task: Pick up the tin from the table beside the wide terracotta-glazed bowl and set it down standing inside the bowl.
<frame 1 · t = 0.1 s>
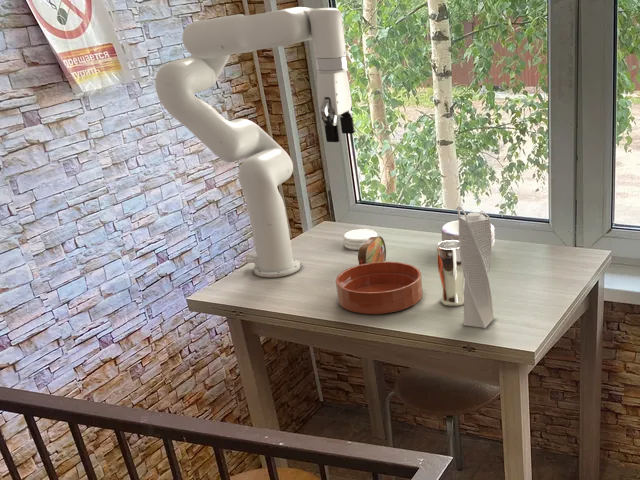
hand: (340, 137, 198), 37 cm above the table, tool pointing down, fingers open, 9 cm apart
tin: (373, 270, 219), on the table
bowl: (381, 298, 202), on the table
coaster: (361, 245, 238), on the table
skyscraper: (478, 323, 188), on the table
paper bowls: (469, 253, 230), on the table
chrome tumbler: (453, 302, 199), on the table
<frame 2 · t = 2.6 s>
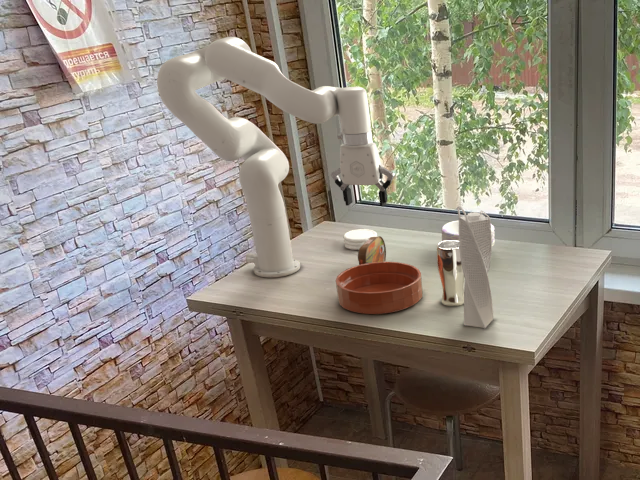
hand: (366, 204, 210), 19 cm above the table, tool pointing down, fingers open, 9 cm apart
nothing on the table moved.
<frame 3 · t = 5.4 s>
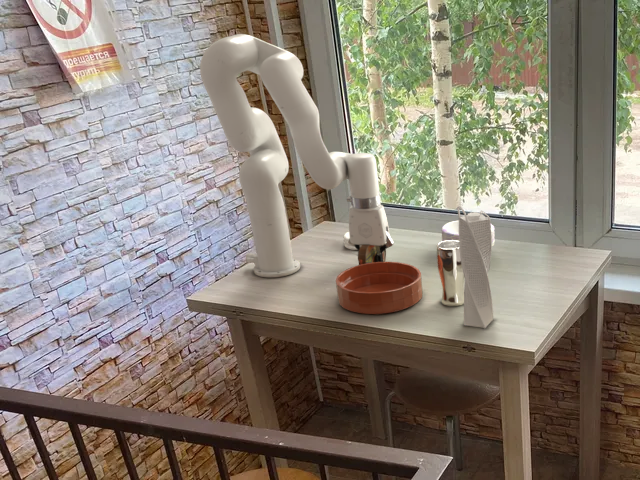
hand: (373, 266, 219), 1 cm above the table, tool pointing down, fingers closed on tin, 2 cm apart
tin: (373, 270, 219), on the table, touching gripper
everything else where it was.
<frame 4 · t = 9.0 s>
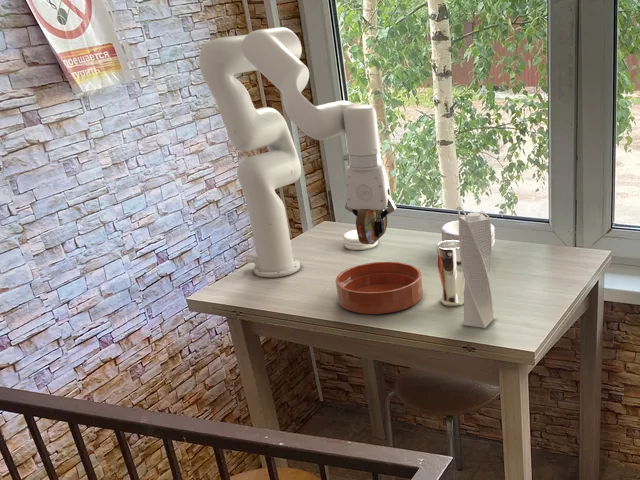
hand: (373, 234, 195), 16 cm above the table, tool pointing down, fingers closed on tin, 2 cm apart
tin: (373, 239, 196), point 15 cm above the table, touching gripper
everything else where it was.
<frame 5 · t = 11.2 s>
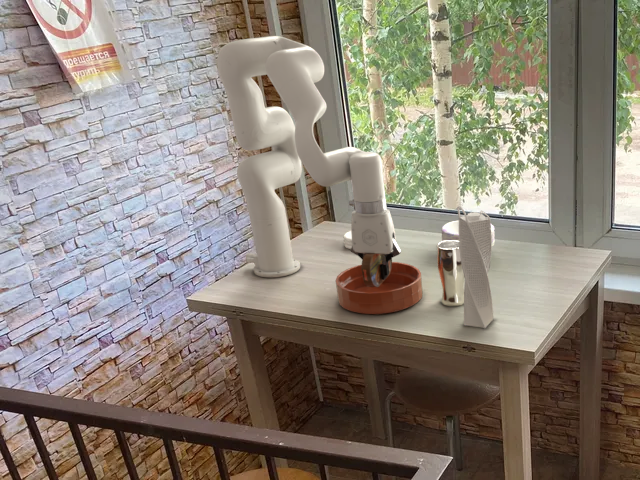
hand: (378, 276, 199), 6 cm above the table, tool pointing down, fingers closed on tin, 2 cm apart
tin: (378, 281, 199), point 5 cm above the table, touching gripper
everything else where it was.
when the fingers open (2 cm above the table, at t = 12.6 s): tin stays where it is, resting on bowl.
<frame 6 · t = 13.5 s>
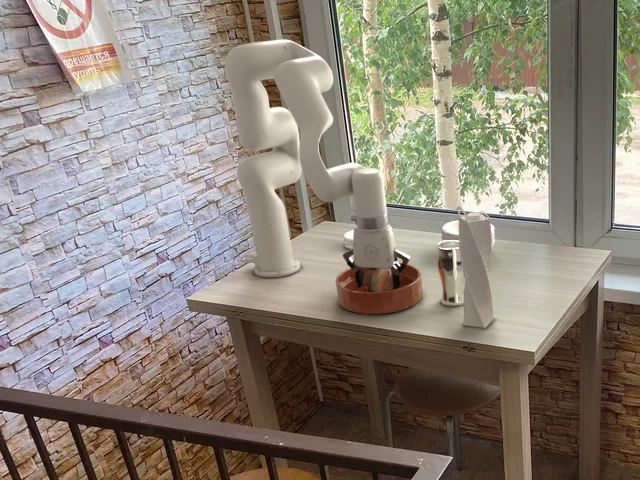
hand: (379, 286, 200), 3 cm above the table, tool pointing down, fingers open, 9 cm apart
tin: (380, 297, 201), resting on bowl
everything else where it was.
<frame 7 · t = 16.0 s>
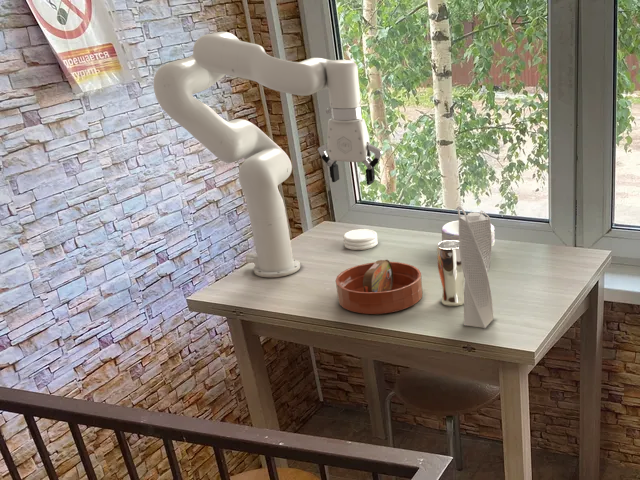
hand: (353, 182, 205), 25 cm above the table, tool pointing down, fingers open, 9 cm apart
nothing on the table moved.
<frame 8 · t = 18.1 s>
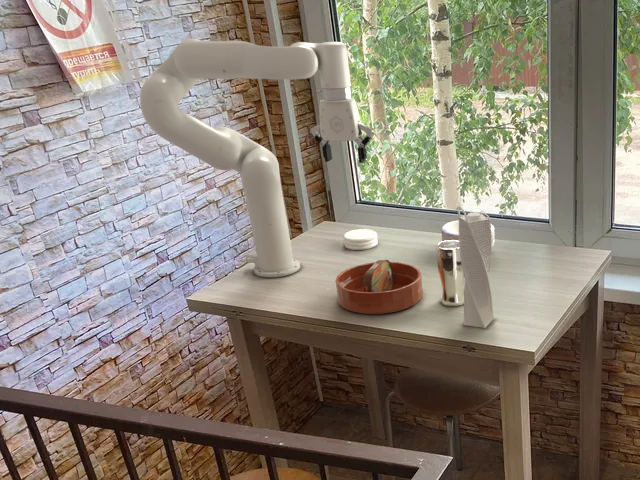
hand: (345, 161, 212), 28 cm above the table, tool pointing down, fingers open, 9 cm apart
nothing on the table moved.
at the end: tin inside the target area in the bowl (0.2 cm from its centre), point 0.4 cm above the bowl's base; the gripper is holding nothing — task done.
